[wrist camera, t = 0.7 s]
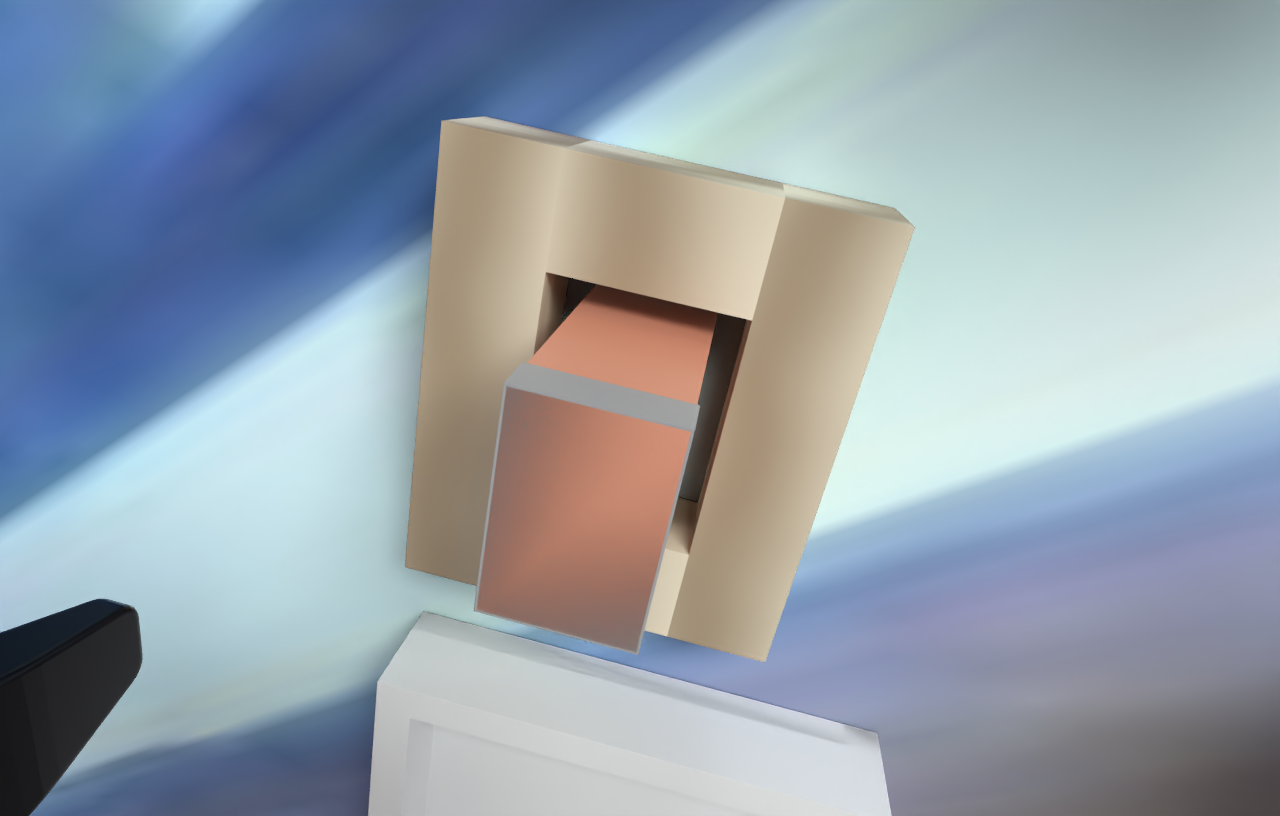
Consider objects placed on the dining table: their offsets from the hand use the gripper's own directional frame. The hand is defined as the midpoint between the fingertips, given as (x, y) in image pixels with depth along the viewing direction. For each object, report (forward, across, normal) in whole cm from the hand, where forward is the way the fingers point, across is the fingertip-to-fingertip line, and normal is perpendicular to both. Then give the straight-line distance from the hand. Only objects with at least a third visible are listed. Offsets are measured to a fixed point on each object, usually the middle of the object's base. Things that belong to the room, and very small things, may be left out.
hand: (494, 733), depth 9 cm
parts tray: (+11, -2, +15) cm, 19 cm away
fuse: (+11, 0, 0) cm, 11 cm away
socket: (+11, 0, 0) cm, 11 cm away
